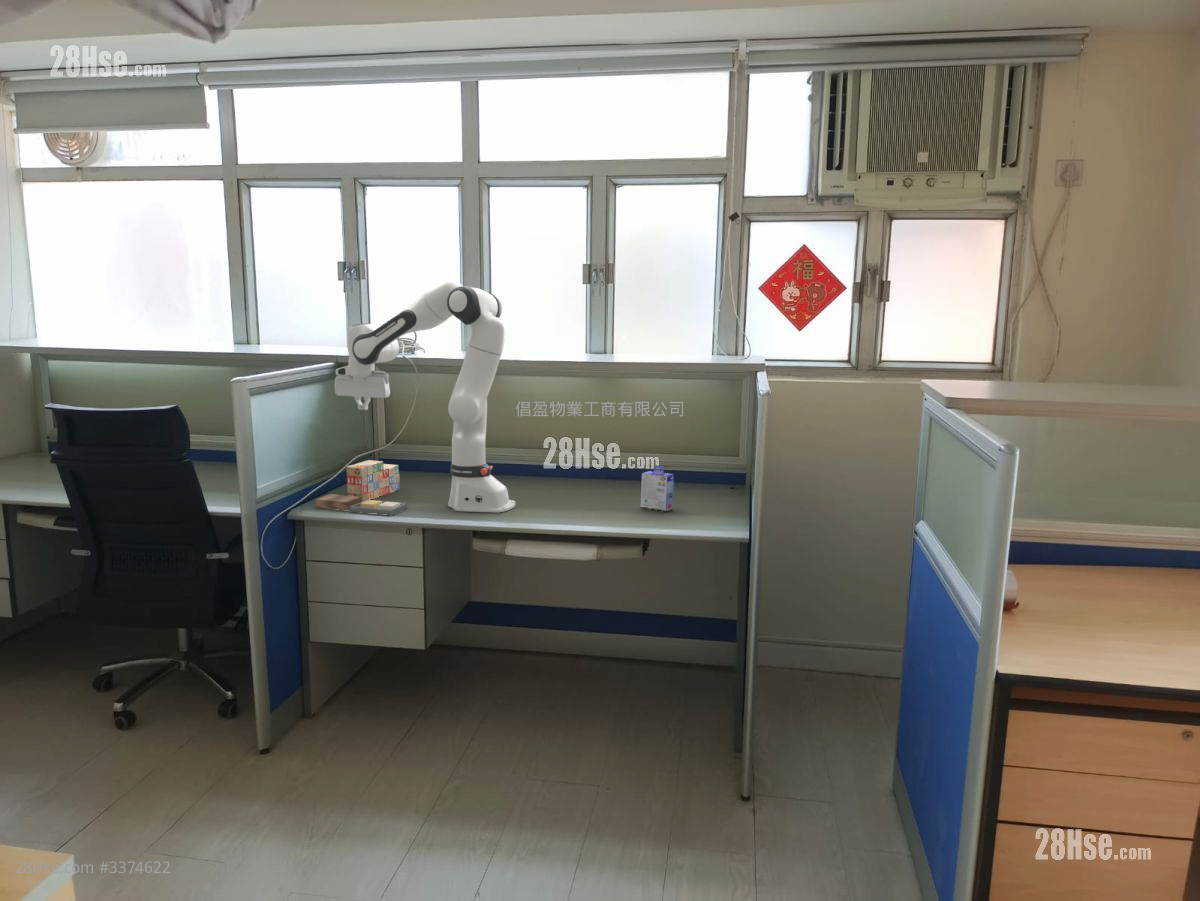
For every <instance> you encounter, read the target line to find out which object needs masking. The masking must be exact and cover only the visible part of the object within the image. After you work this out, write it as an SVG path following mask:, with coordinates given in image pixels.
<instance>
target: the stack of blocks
mask: <svg viewBox="0 0 1200 901" xmlns="http://www.w3.org/2000/svg"><path fill="white" fill-rule="evenodd" d="M346 486H347V487H346V488H347V495H348V496H359V497H362V501H364V500H371V499H373V500H376V499H377V497H378V498H380V497H379V496H381V497H383V495H384V496H386V495H388V493H389V494H392V493H395V492H397V490H398V491H400V486H401V485H400V466H399V464H389V463H384V461H383V460H381V461H380V460H371V459H368V460H365V461H364V460H363V461H361V462H358V463H354V464H351V465H347V466H346ZM385 494H386V495H385ZM375 498H376V499H375Z"/></svg>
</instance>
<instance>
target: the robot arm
mask: <svg viewBox="0 0 1200 901" xmlns="http://www.w3.org/2000/svg"><path fill="white" fill-rule="evenodd" d="M502 311H503V307H502V303H501V301H500V299H499V298H498V297H497V296H496V295H494V294H493V293H491V292H487V291H484V290H483V289H481V288H478V287H471V286H468V285H462V284H461V283H459V282H458V281H456V280H454V279H447V280H444V281H442V282H441V283H439V284H437V285H435V286H433V287H432V288H430V289H429V290H428V291H427V292H425V293H423V294H422V295H421V296H420V297H419V298H418V299H416V300H415V301H414V302H412V304H410V305H409V306H407V307H406V308H405V309H403V310H402V311H400V313H398V314H397V315H395V316H394V317H392V318H390V319H389V320H388V321H386V322H384V323H383V324H382V325H380V326H379V327H377V328H375V327H374V326H373V325H372V324H371V323H366V322H365V323H357V324H353V325H351V326H350V327H349V329H348V333H347V351H348V355H349V356H348V362H347V364H348V365H345V366H342V367H339V368H336V369H335V375H336V376H335V379H334V394H335V395H336V396H338V397H339V396H343V397H354V401H355V403H356V404H357V409H358V410H361V411H362V410H364V411H367V410H369V404H370V402H371V398H374V399H375V398H376V399H387V398H389V397H390V395H391V389H390V377H389V374H388V373H387V372H385V371H382V370H381V371H379V370H375V369H376V366H375V364H378V363H387V362H391V361H393V360H396V358H397V357H398V355H399V353H400V343H399V341H398V339H399V338H400V337H403V336H405V335H407V334H410V333H415V332H419V331H420V332H421V331H427V330H432V329H433V328H436V327H437V326H440V325H441V324H443V323H445V322H446V321H447V320H449V319H450V318H451V317H452V316H454V317H455V318H456V319H458V320H459V321H461V323H463V324H464V325H465V326H468V325H469V326H470V328H471V334H470V335H471V336H470V338H469V341H468V344H467V345H468V346H467V349H466V351H465V352H466V353H465V355H464V359H463V362H462V365H461V369H460V371H459V374H458V376H457V379H456V382H455V385H454V387H453V389H452V392H451V395H450V399H449V401H448V406H447V407H448V408H447V410H448V414H449V416H450V418H451V420H452V421H453V427H452V436H451V463H450V480H451V486H450V494H449V499H448V502H447V506H448V507H449V508H451V509H453V510H454V511H455V512H473V513H474V512H475V513H504V512H506V511H510V510H511V509H514V507H515V506H516V501H515V500H511V499H510V497H509V491H508V487H507V486H506V485H504V484H503V483H502V482H501V481H499V480H498V479H497V478H496V477H495V476H493V475H492V472H491V471H492V469H493V465H489V464H488V463H487V462H486V461H487V460H486V455H487V454H486V437H487V436H486V435H487V422H488V421H487V420H488V396H489V393H490V390H491V388H492V384H493V382H494V379H495V377H496V374H497V370H498V366H499V363H500V361H501V358H502V357H501V356H502V353H503V349H504V346H505V340H506V333H507V332H506V330H507V327H506V324H505V322H504V321H503V320H502V319H500V317H501V316H502V313H503V312H502ZM362 397H363V400H364V403H363V402H362V401H361V400H362Z"/></svg>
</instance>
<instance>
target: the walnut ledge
mask: <svg viewBox="0 0 1200 901" xmlns="http://www.w3.org/2000/svg"><path fill="white" fill-rule="evenodd" d="M360 502H362V497H359V496H348V494H347V495H345V494H334V493H328V494H325V495H324V496H320V497H318V498H316V499H315V508H316V507H318V508H317V509H319V508H327V509H326V510H330V509H339V510H338V511H341V510H349V507H350V506H352V505H355V504H357V503H360Z"/></svg>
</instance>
